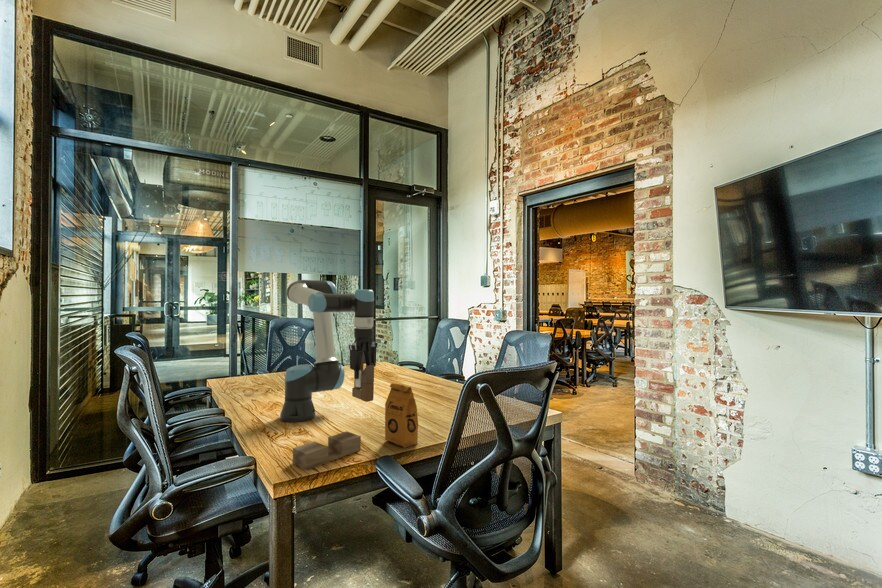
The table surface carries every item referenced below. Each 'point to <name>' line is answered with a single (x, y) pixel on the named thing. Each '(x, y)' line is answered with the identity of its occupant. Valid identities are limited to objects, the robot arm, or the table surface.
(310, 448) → the slotted sill
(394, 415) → the coffee package
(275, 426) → the table surface
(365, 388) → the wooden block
